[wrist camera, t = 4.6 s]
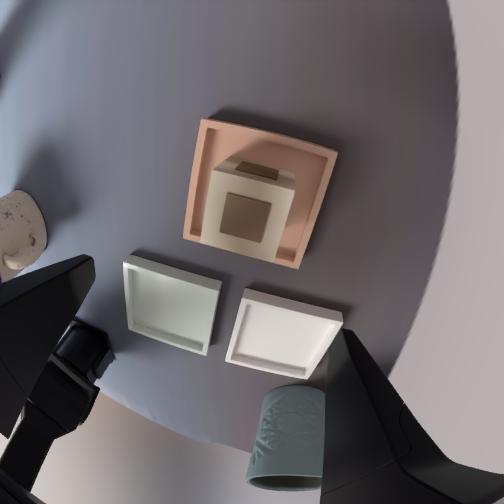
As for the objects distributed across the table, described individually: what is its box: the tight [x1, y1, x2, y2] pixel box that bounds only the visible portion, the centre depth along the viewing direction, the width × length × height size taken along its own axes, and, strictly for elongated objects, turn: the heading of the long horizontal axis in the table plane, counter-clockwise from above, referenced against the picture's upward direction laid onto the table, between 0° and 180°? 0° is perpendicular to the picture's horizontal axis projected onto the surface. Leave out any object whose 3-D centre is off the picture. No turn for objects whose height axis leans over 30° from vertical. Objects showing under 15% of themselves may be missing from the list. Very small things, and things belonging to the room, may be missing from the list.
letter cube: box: [200, 156, 295, 262], centre depth 17 cm, size 4×5×5 cm
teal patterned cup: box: [245, 385, 325, 491], centre depth 27 cm, size 10×10×12 cm
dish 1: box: [123, 254, 222, 356], centre depth 26 cm, size 9×9×1 cm
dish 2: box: [183, 118, 338, 269], centre depth 19 cm, size 9×9×1 cm
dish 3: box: [225, 288, 343, 379], centre depth 26 cm, size 9×9×1 cm
